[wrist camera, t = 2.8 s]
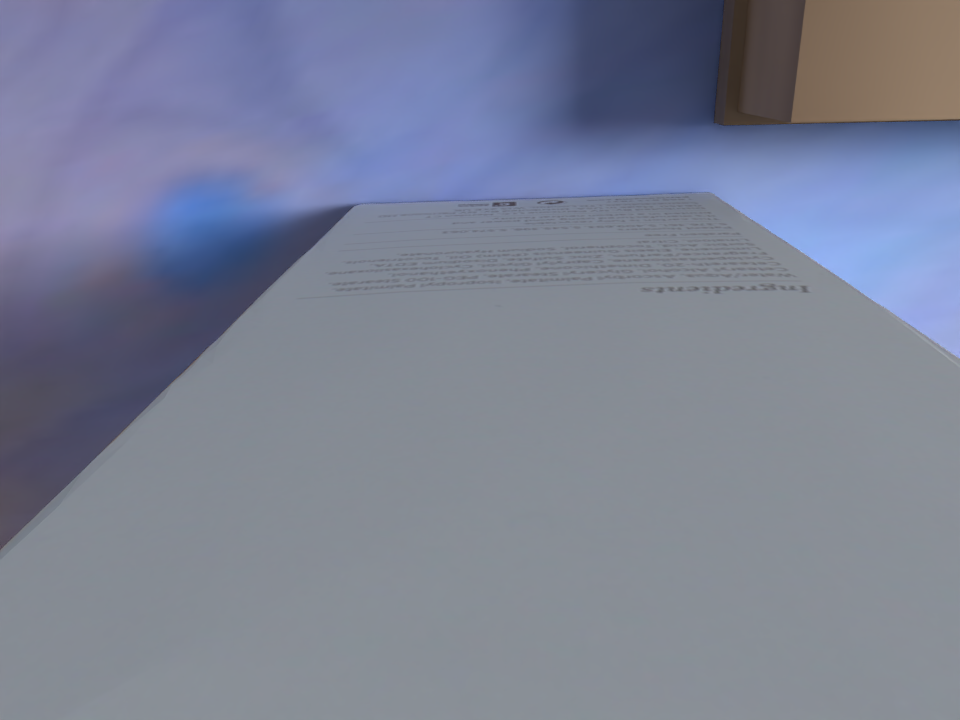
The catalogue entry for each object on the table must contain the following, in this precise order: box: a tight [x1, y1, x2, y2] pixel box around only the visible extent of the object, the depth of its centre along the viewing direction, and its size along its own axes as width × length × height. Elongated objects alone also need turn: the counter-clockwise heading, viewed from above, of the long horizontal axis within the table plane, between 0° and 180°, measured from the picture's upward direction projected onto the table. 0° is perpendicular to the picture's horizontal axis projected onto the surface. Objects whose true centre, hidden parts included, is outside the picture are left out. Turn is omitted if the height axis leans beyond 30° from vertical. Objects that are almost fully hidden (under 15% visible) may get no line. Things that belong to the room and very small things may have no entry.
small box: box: [0, 192, 960, 720], centre depth 8 cm, size 8×6×13 cm
